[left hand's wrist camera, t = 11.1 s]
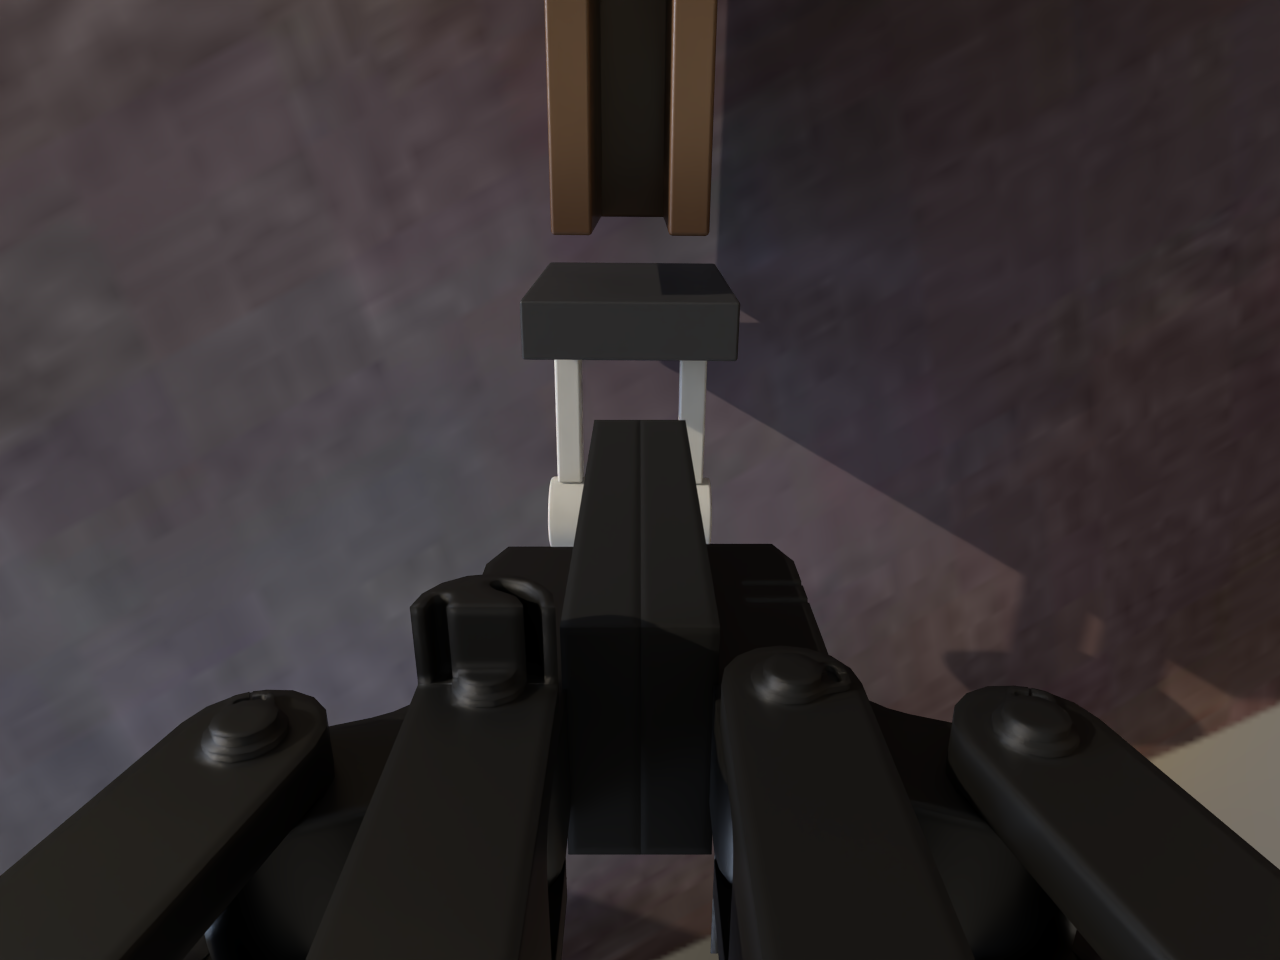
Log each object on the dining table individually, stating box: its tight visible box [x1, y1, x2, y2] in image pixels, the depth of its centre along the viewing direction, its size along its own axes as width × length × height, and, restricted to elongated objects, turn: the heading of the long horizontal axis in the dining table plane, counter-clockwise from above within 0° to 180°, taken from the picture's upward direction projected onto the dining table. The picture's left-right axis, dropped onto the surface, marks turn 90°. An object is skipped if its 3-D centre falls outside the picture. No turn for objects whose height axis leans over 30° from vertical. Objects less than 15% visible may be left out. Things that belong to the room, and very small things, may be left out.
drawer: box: [520, 0, 740, 547], centre depth 18 cm, size 24×4×6 cm, turn 0°
